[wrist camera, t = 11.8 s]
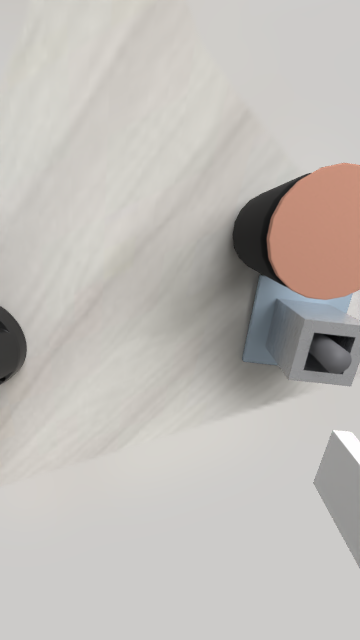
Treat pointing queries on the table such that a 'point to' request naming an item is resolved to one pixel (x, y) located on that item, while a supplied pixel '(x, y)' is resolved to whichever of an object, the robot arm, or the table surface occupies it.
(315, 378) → the square metal tube
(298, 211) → the coffee jar
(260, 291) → the blue base with peg
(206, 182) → the table surface
